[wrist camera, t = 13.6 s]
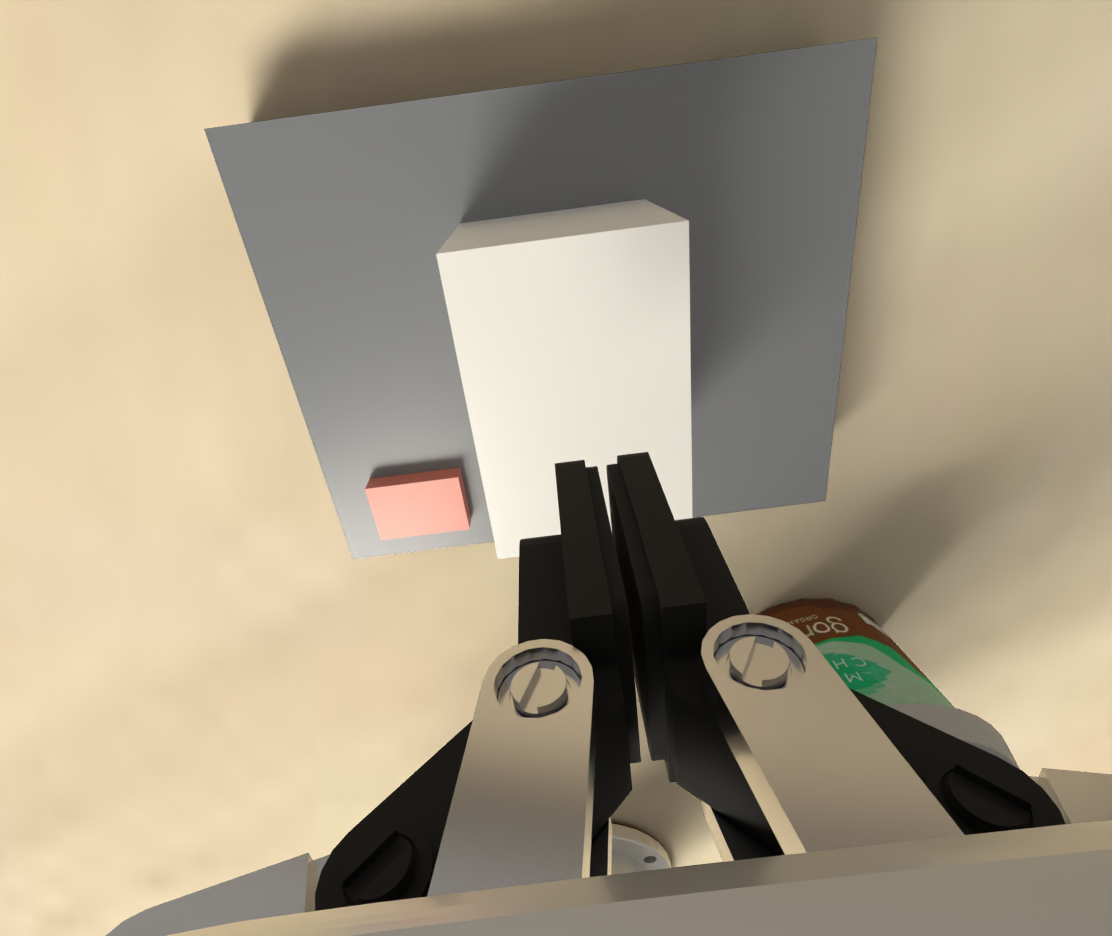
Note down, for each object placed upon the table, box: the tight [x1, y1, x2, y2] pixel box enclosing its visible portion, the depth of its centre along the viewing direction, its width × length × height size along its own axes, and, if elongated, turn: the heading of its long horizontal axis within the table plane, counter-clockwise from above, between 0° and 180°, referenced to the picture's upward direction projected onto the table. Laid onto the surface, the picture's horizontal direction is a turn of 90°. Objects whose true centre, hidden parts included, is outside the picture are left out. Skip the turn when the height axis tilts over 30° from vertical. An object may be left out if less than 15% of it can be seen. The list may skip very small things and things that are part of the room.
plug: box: [436, 199, 692, 559], centre depth 20 cm, size 9×6×9 cm, turn 7°
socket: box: [204, 38, 877, 559], centre depth 23 cm, size 16×20×4 cm
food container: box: [758, 599, 1019, 769], centre depth 29 cm, size 12×6×10 cm, turn 122°
